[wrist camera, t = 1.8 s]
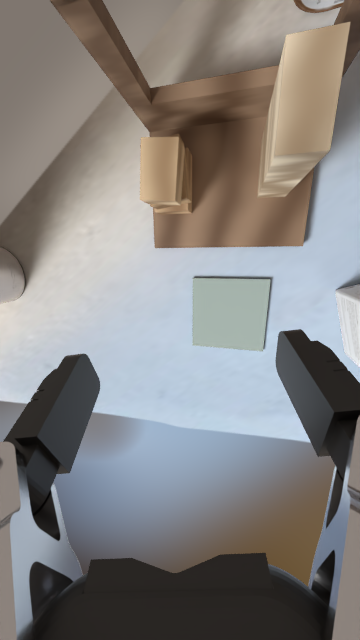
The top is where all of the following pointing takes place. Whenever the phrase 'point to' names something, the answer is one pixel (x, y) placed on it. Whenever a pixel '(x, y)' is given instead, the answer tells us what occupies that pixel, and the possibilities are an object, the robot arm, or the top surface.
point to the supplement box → (350, 320)
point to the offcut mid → (185, 184)
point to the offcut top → (161, 170)
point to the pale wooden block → (302, 108)
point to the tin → (318, 5)
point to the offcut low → (188, 206)
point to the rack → (209, 137)
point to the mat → (230, 312)
